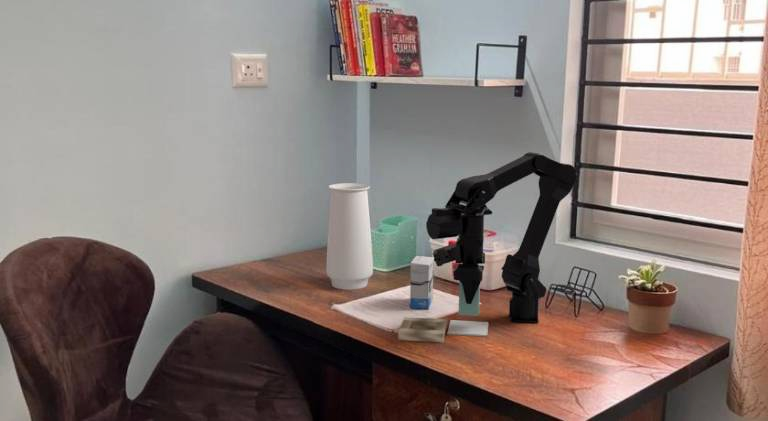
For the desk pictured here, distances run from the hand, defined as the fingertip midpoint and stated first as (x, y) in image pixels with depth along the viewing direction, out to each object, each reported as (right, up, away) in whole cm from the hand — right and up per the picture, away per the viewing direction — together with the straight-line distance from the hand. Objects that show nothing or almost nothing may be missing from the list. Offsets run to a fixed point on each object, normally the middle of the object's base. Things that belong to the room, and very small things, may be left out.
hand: (469, 300), depth 174 cm
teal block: (0, -3, +1) cm, 3 cm away
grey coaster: (0, -7, +1) cm, 7 cm away
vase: (-29, 0, +37) cm, 47 cm away
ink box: (-10, -4, +20) cm, 23 cm away
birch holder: (-11, -7, -2) cm, 13 cm away
